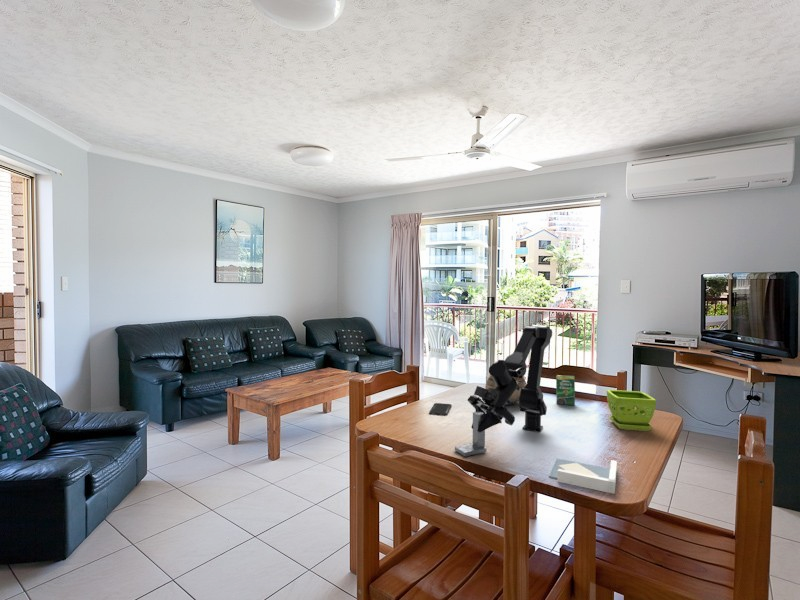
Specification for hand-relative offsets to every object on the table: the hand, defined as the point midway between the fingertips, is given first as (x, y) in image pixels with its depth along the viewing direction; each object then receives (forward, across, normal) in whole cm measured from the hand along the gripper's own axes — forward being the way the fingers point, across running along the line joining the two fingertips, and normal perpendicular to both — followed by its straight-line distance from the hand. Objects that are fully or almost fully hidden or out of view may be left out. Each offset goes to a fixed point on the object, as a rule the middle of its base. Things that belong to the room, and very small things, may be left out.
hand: (475, 430), depth 136 cm
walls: (-8, +29, +18) cm, 35 cm away
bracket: (+6, 0, +3) cm, 7 cm away
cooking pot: (-28, -41, +39) cm, 63 cm away
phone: (-4, -44, +15) cm, 47 cm away
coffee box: (-45, -28, +56) cm, 77 cm away
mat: (-7, +27, +17) cm, 33 cm away
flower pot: (-43, +5, +54) cm, 69 cm away
